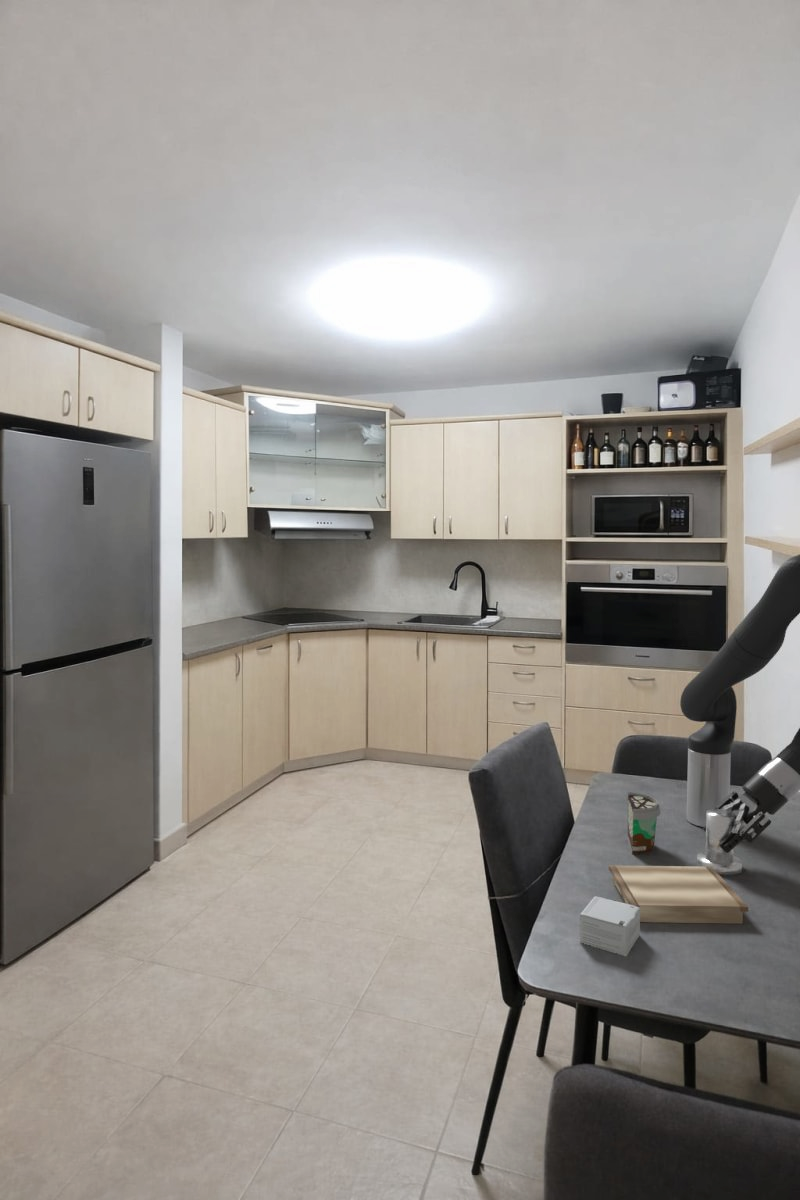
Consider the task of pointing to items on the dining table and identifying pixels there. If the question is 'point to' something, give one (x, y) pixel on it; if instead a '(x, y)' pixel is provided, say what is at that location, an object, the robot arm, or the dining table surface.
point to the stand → (678, 894)
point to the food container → (642, 822)
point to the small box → (610, 925)
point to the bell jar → (715, 856)
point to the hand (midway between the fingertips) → (714, 840)
